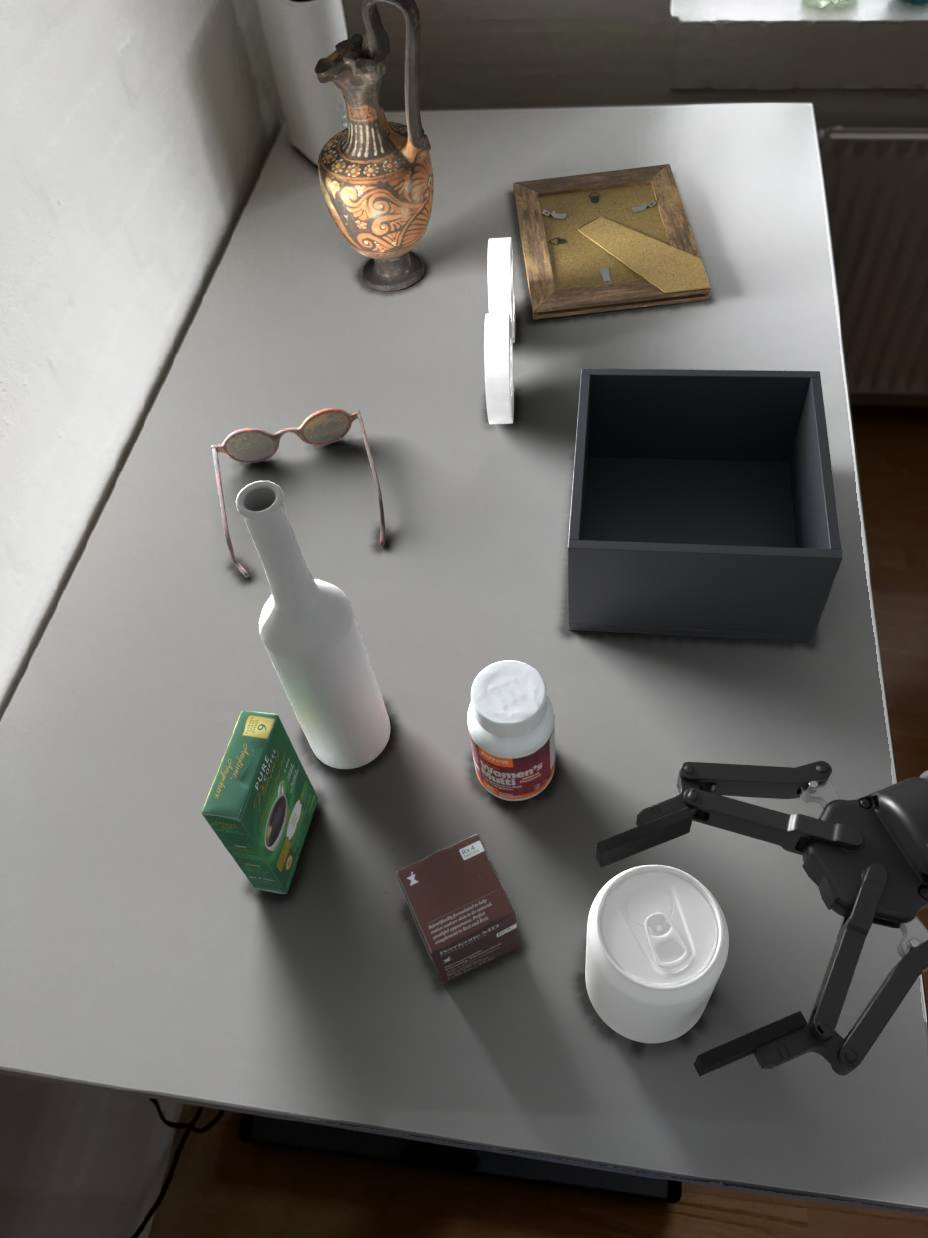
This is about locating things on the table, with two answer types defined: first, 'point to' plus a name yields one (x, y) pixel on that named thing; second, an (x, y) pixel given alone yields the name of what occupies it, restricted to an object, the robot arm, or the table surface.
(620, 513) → the storage bin
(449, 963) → the box
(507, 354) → the letter
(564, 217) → the picture frame
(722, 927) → the beverage can
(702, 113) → the table surface
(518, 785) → the pill bottle
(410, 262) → the vase
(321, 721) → the bottle
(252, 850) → the coffee box
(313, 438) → the eyeglasses
